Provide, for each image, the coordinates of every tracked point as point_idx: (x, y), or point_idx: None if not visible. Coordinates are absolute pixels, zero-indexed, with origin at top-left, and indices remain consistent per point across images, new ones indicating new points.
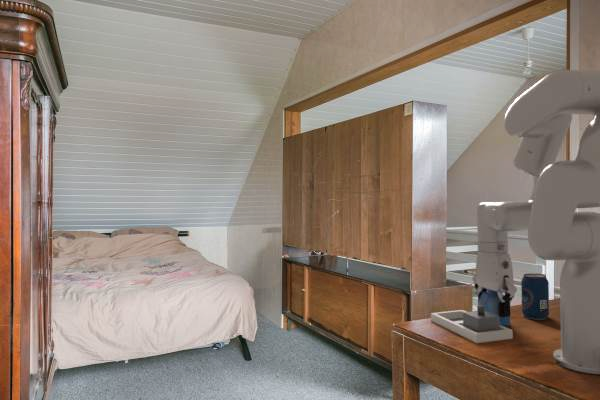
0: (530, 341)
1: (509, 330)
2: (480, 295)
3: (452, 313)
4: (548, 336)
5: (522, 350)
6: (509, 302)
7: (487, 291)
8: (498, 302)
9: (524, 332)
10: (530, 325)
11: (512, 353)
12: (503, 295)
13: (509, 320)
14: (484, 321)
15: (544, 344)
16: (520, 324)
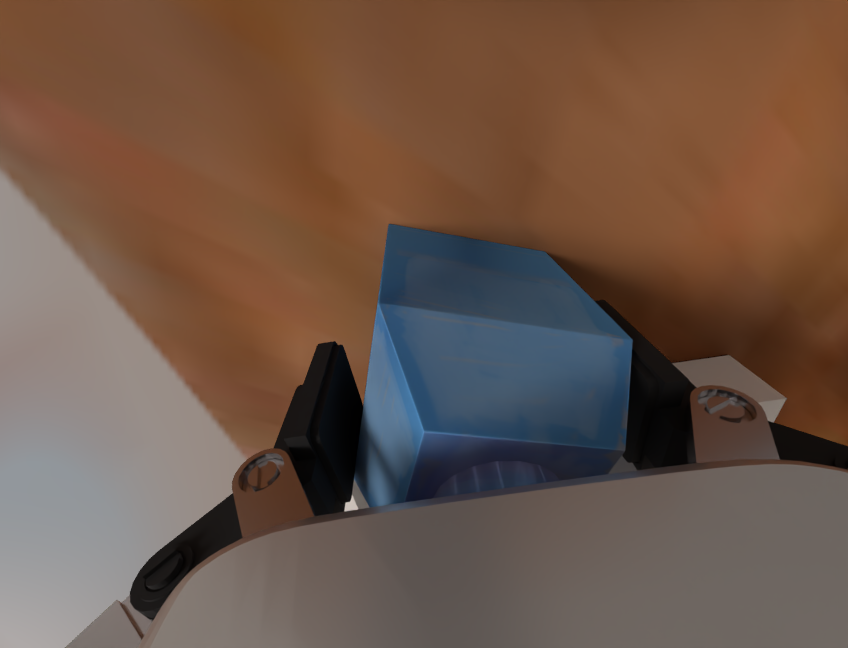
0: (777, 267)
1: (777, 412)
2: (338, 500)
3: (360, 503)
4: (806, 80)
5: (820, 365)
6: (677, 377)
7: (299, 479)
8: (637, 468)
9: (644, 203)
10: (527, 25)
11: (809, 410)
12: (623, 449)
13: (564, 276)
14: None
15: None
16: (475, 106)
